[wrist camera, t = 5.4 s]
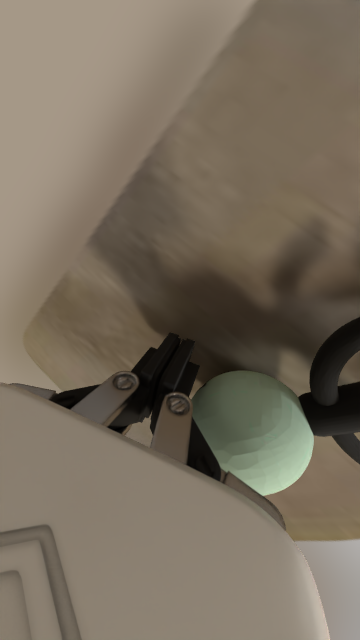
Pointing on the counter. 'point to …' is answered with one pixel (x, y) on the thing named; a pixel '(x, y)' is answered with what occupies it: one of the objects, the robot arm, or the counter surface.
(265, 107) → the counter surface
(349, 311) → the counter surface
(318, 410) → the toy
